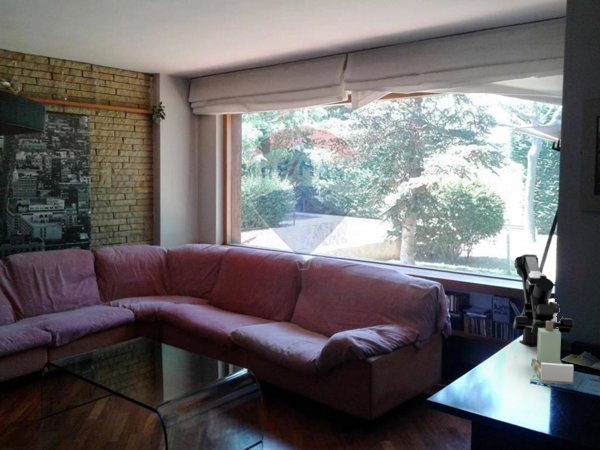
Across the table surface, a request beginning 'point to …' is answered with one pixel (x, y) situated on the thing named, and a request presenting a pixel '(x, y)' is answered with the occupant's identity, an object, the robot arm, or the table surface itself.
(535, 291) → the robot arm
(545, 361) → the sliding block
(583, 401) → the table surface
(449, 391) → the table surface
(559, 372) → the wall
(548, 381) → the birch rail
